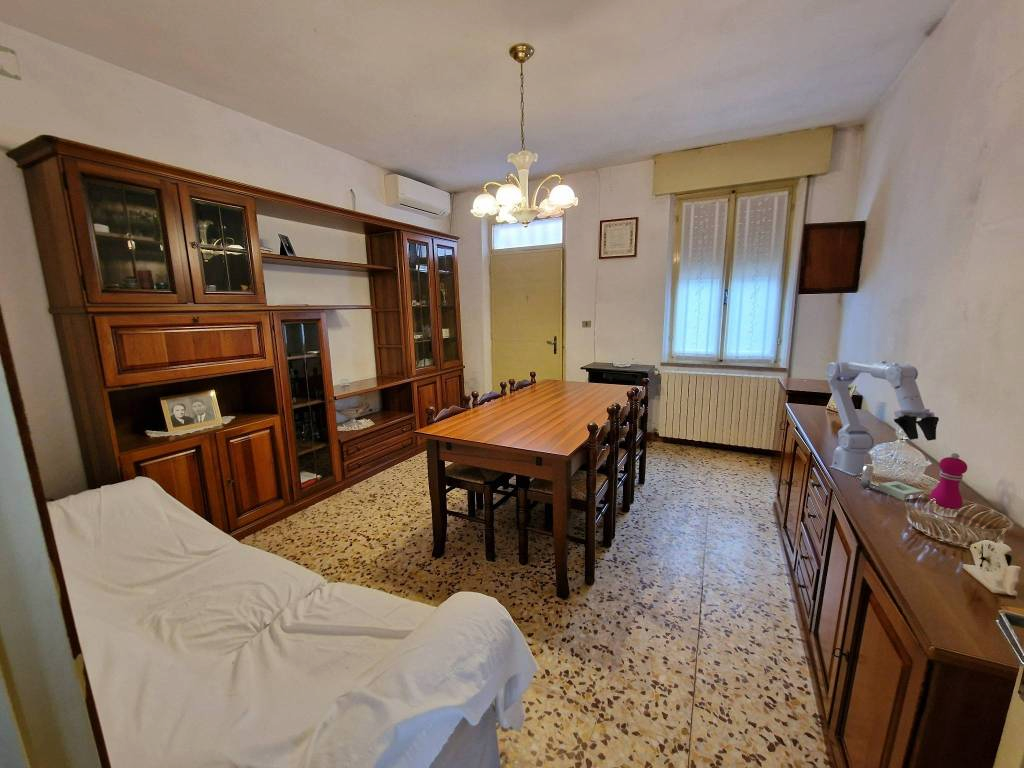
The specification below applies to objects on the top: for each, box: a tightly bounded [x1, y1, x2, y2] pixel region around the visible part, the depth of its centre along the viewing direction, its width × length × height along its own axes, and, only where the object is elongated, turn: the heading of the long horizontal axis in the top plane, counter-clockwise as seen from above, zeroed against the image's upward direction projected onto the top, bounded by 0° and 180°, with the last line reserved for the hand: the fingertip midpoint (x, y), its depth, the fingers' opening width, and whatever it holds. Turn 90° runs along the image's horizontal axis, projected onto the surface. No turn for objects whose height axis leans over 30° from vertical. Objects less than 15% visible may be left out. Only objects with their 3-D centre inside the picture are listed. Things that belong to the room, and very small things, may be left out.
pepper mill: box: [929, 452, 968, 509], centre depth 129 cm, size 7×7×20 cm
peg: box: [859, 464, 875, 489], centre depth 148 cm, size 3×3×8 cm
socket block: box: [877, 480, 924, 502], centre depth 144 cm, size 8×8×2 cm
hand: (922, 439), depth 134 cm, fingers open, 7 cm apart
